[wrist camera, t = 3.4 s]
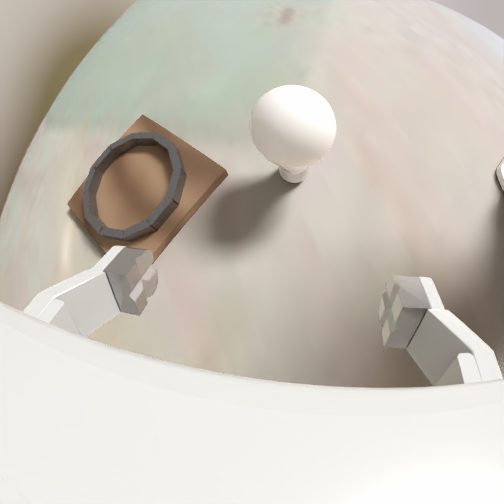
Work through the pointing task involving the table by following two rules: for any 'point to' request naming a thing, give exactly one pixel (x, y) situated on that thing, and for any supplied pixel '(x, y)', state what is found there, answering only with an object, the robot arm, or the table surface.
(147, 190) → the board
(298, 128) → the lightbulb
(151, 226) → the collar
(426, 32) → the table surface
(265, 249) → the table surface
